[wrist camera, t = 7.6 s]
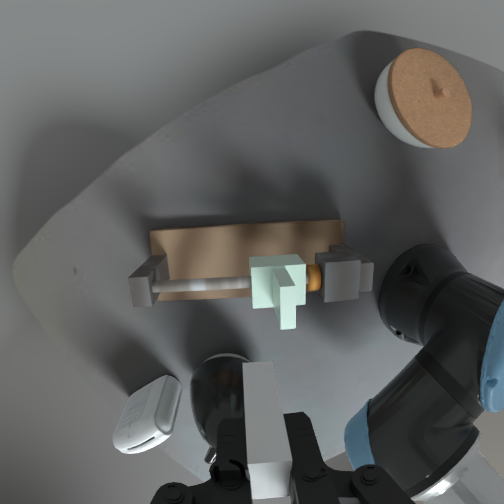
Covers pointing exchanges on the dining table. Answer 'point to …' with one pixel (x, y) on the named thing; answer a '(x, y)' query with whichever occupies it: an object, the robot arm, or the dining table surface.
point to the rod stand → (247, 261)
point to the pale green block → (278, 285)
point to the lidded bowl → (423, 100)
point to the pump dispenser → (217, 395)
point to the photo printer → (148, 416)
